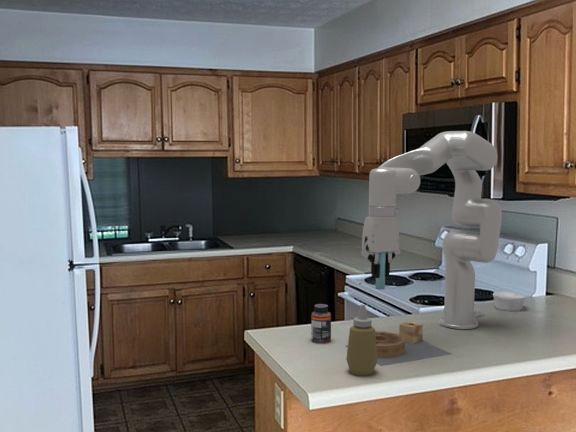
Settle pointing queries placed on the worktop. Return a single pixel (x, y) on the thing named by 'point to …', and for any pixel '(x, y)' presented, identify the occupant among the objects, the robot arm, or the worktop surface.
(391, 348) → the faceted wooden ring
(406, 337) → the cube bead
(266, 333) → the worktop surface
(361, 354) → the squeeze bottle
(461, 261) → the robot arm
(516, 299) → the ramekin
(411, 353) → the felt mat
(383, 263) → the teal marker pen
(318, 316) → the supplement bottle
